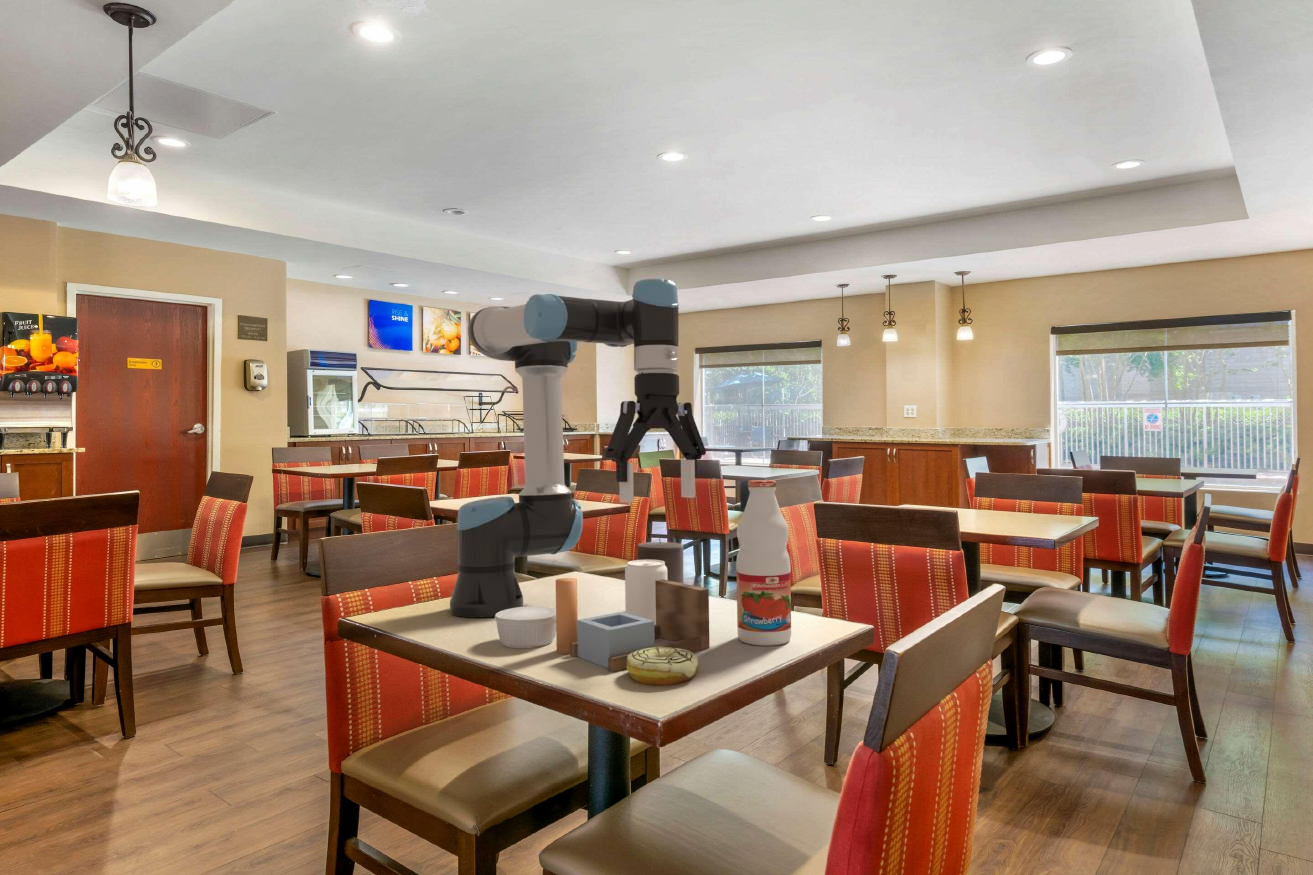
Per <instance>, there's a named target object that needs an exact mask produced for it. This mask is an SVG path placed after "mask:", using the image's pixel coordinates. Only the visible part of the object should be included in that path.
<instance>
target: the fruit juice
mask: <svg viewBox="0 0 1313 875" xmlns="http://www.w3.org/2000/svg"><path fill="white" fill-rule="evenodd" d="M747 488H748V491H749V495H748V499H747V502H746V505H745V508H744V510H743V514H742V516H741V518H740V520H739V521H738V523H737V526H736V537H737V540H738V543H739V549H738V550H739V551H738V552H737V555H736V567H735V568H736V616H737V617H736V619H737V620H736V623H737V625H736V626H737V629H736V630H737V632H736V633H737V638H738V640H739V641H741V642H742V643H745V644H747V645H752V646H754V645H755V646H763V647H767V646H779V645H783V644H787V643H788V642H790V641H791V638H792V602H791V601H792V600H791V599H792V597H791V594H792V593H791V589H792V588H791V587H792V586H791V585H792V584H791V583H792V582H791V559H790V555H789V552H788V549H787V545H788V540H789V537H790V530H789V525H788V522H787V521H786V519H785V517H784V515H783V514H782V510H781V508H780V506H779V502H778V500H777V499H778V498H777V497H776V494H775V493H776V491H777V481H776V480H773V479H752V480H748V482H747Z"/></svg>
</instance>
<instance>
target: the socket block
mask: <svg viewBox="0 0 1313 875" xmlns="http://www.w3.org/2000/svg"><path fill="white" fill-rule="evenodd" d="M577 635H578V656H577V657H578V658H580V659H582V660H585V661H587V662H590V663H593V664H596V665H598V666H601V667H604V668H605V669H608V657H612V656H616V655H620V654H625V653H629V652H633V651H637V650H641V649H645V648H650V647H655V646H656V644H655V640H656V638H655V633H654V621H653V620H649V619H646V618H642V617H639V616H635V615H632V614H628V613H626V611H625V612H624V611H619V612H618V611H617V612H612V613H607V614H603V615H602V614H601V615H597V616H592V617H591V616H590V617H587V618H582V619H578V620H577Z"/></svg>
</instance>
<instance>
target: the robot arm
mask: <svg viewBox="0 0 1313 875" xmlns="http://www.w3.org/2000/svg"><path fill="white" fill-rule="evenodd" d="M631 297H632V299H629V300H625V301H616V300H607V299H606V300H605V299H596V298H581V297H574V296H573V297H571V296H563V295H556V294H552V293H547V294H545V293H544V294H539V293H537V294H533V295H531V296H529V298H528V301H526V302H525V304H521V305H515V306H511V307H510V306H488V307H484V308H481V309H479V310H478V311H476V312H475V313H474V314H473V315H472V317H471V318H470V320H469V323H468V326H467V335H468V338H469V342H470V343H471V345H472V346H473V347H474V349H476V350H477V351H478V352H479V353H480V354H482V355H483V356H486V357H487V358H490V359H493V360H497V361H506V362H508V361H509V362H514V371H515V372H516V374H518V375H519V377H521V379H522V381H521V382H522V411H523V413H522V414H523V415H522V417H523V446H524V447H523V449H524V451H523V452H524V485H525V486H524V488H523V489H522V490H521V491H520V492H519V493H518V502H515V500H514V498H513V497H512V496H498V497H497V496H496V497H488V498H482V499H477V500H473V501H470V502H469V501H468V502H467V503H464V504H463V505H461V506H460V507H459V509H458V511H457V525H456V530H457V578H456V581H455V585H454V587H453V591H452V594H451V596H450V601H449V612H451V613H452V614H451V613H450V614H451V615H453V614H454V615H453V616H456V615H457V617H461V616H465V617H464V618H493V617H494V618H495V614H497V613H498V612H500V611H503V610H506V609H511V608H517V607H524V596H523V592H522V590H521V588H520V583H519V581H518V578H517V575H516V571H515V559H516V558H520V557H529V556H540V555H541V556H542V555H556V554H559V553H566V552H569V551H571V550H572V549H574V548H575V547H576V545H578V544H577V543H578V542H579V540H580V538H581V535H582V532H583V527H584V526H583V524H584V516H583V515H584V514H583V510H582V508H581V507H582V505H581V504H580V503H579V502H578V501H577V500H576V499H574V498H572V497H573V496H572V491H571V489H569V487H567V486H566V484H565V460H564V428H563V425H564V423H563V421H564V420H563V399H562V398H563V397H562V396H563V395H562V394H563V392H562V377H563V376H564V374H565V373H566V372H568V370H569V368H568V366H569V365H568V364H571V363H572V362H573V361H574V359H575V358H576V356H577V355H576V354H577V352H576V351H577V350H578V342H579V343H588V344H589V343H590V344H591V343H592V344H604V345H605V346H607V347H611V348H618V347H621V348H624V347H628V346H630V345H633V370H634V372H636V374H635V376H634V377H633V378H634V381H633V382H634V383H633V384H634V385H633V386H634V395H635V397H636V401H634V400H625V401H624V400H623V401H621V403H620V410H619V411H620V412H619V416H618V419H617V422H616V424H615V426H614V429H613V431H612V434H611V437H610V439H609V443H608V445H607V448H606V450H605V454H604V455H605V458H607V459H610V460H611V462H613V463H615V474H616V475H615V478H616V482H617V483H619V484H618V485H619V503H626V504H633V503H635V502H634V501H635V500H634V497H635V496H634V493H635V492H634V485H635V484H634V462H633V461H629V460H630V459H631V457H632V456H633V454H634V453H635V451H636V450H637V448H638V447H639V445H640V444H641V442H642V440H643V438H644V437H645V436H646V434H647V432H649V431H650V430H651V429H654V430H655V429H656V430H657V429H664V431H666V432H668V434H669V436H670V438H671V439H672V440H673V442H674V443H675V445H676V447H677V448H678V450H679V451H680V453H681V454H682V456H683V458H684V459H680V490H681V492H680V493H681V494H680V495H681V498H690V499H691V498H692V499H695V498H696V478H697V475H698V460H701V459H702V456H705V455H706V454H707V450H706V447H705V444H704V442H703V439H702V437H701V434H700V432H699V429H698V426H697V423H696V421H695V418H694V416H693V407H692V403H691V402H690V401H689V402H678V400H677V398H678V396H679V395H680V376H679V374H678V373H676V372H677V371H679V369H680V362H679V360H680V359H679V358H680V357H679V355H680V354H679V306H680V304H679V302H678V301H679V298H678V287H677V285H676V283H675V282H674V281H672V280H669V279H666V278H665V279H664V278H646V279H641V280H638V281H636V282H635V283H634V285H633V289H632V295H631ZM636 414H637V415H638V416H637V418H636V419H635V415H636ZM634 420H635V421H634Z"/></svg>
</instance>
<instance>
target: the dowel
mask: <svg viewBox="0 0 1313 875" xmlns="http://www.w3.org/2000/svg"><path fill="white" fill-rule="evenodd" d="M555 609H556V635H555V637H556V640H555V641H556V653H557V654H561V655H570V643H572V642H577V641H578V635H577V620H579V618H578V616H579V615H578V614H579V613H578V611H579V610H578V579H577V578H574V577H561V578H557V579H555Z"/></svg>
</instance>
